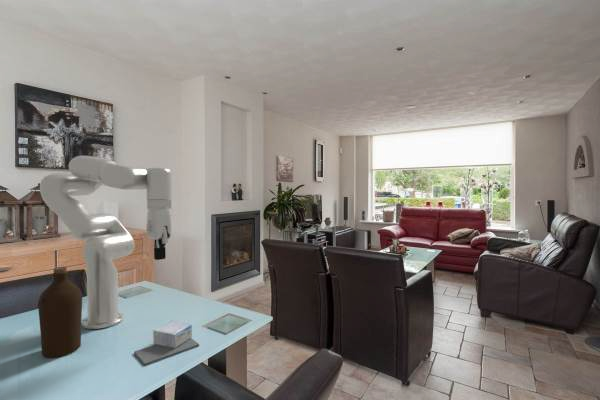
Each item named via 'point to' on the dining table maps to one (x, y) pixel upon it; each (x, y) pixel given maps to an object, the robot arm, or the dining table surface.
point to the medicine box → (172, 334)
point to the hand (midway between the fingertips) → (159, 258)
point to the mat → (162, 351)
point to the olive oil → (60, 316)
